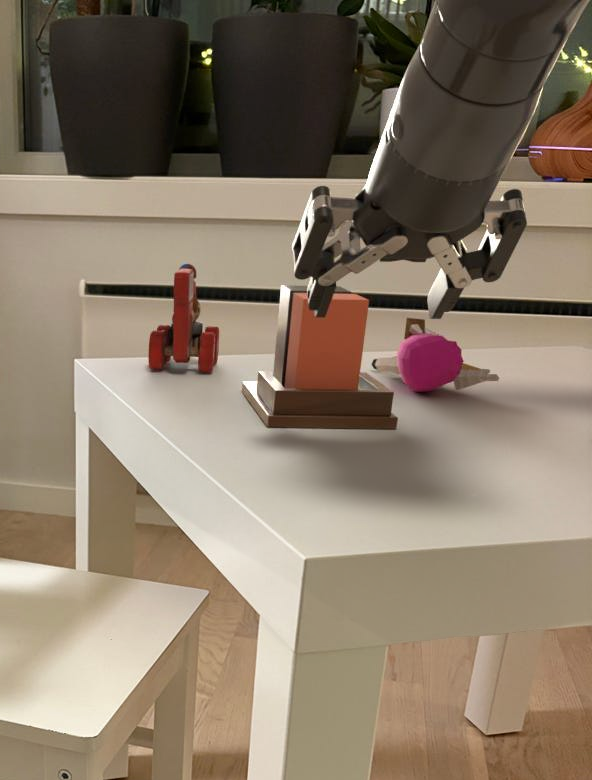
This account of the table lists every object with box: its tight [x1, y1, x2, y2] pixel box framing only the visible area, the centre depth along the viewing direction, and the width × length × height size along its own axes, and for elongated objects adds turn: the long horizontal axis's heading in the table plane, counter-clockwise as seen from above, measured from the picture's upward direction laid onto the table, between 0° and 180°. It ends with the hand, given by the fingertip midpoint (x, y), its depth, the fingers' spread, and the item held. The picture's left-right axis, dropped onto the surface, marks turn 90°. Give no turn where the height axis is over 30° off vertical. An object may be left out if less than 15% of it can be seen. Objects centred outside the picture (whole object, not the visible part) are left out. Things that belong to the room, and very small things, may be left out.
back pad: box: [284, 293, 370, 389], centre depth 85 cm, size 4×6×9 cm
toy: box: [370, 317, 500, 392], centre depth 99 cm, size 7×10×15 cm
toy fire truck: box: [147, 263, 220, 373], centre depth 105 cm, size 7×12×10 cm, turn 170°
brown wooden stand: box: [241, 284, 399, 430], centre depth 87 cm, size 15×11×10 cm
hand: (375, 308), depth 72 cm, fingers open, 8 cm apart
